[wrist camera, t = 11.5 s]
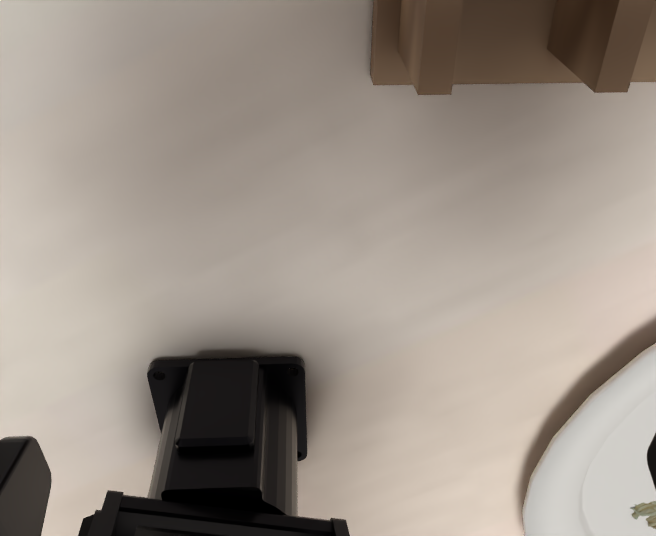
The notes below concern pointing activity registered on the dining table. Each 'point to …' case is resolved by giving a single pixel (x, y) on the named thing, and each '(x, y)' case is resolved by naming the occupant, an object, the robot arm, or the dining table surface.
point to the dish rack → (513, 43)
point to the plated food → (600, 462)
